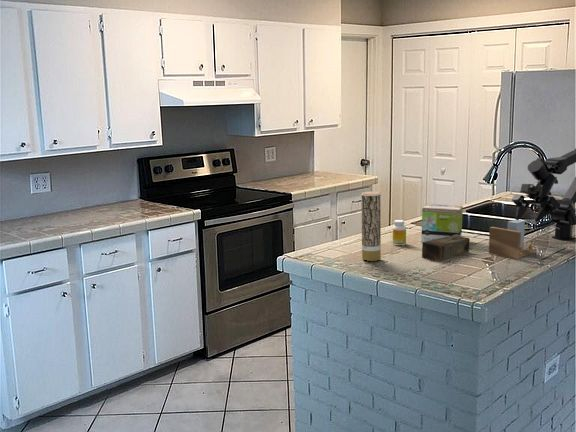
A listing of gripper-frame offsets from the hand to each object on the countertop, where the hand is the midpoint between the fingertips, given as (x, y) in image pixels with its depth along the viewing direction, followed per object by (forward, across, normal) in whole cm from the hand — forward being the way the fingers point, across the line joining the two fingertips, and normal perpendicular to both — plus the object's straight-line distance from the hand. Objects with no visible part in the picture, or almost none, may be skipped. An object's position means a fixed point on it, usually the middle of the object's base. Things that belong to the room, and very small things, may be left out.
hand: (526, 220), depth 233 cm
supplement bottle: (+29, -33, -22) cm, 49 cm away
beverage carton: (+28, -10, -18) cm, 34 cm away
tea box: (+18, -27, -9) cm, 34 cm away
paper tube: (+44, -20, -39) cm, 62 cm away
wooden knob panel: (+14, +2, 0) cm, 15 cm away
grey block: (+14, +2, +1) cm, 14 cm away
